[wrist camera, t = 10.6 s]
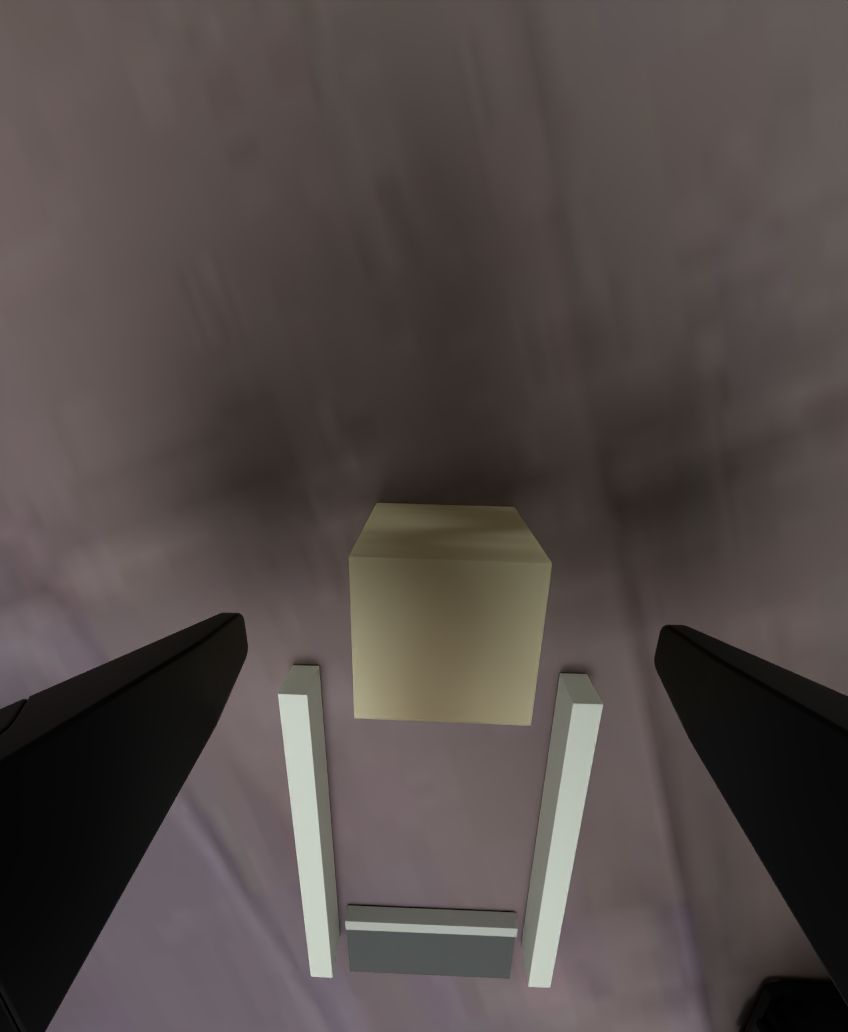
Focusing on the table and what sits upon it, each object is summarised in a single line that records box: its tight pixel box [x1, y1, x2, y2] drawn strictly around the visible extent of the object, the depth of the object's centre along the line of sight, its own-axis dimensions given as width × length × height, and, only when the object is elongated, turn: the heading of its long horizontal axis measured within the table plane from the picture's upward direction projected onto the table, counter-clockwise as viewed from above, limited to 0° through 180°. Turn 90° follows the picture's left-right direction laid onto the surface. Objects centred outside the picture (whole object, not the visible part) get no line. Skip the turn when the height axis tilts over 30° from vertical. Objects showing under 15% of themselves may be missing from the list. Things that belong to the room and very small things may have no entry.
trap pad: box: [345, 905, 518, 979], centre depth 19 cm, size 8×4×1 cm, turn 89°
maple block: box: [349, 503, 552, 726], centre depth 12 cm, size 4×4×4 cm
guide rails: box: [278, 665, 603, 988], centre depth 17 cm, size 11×16×2 cm
